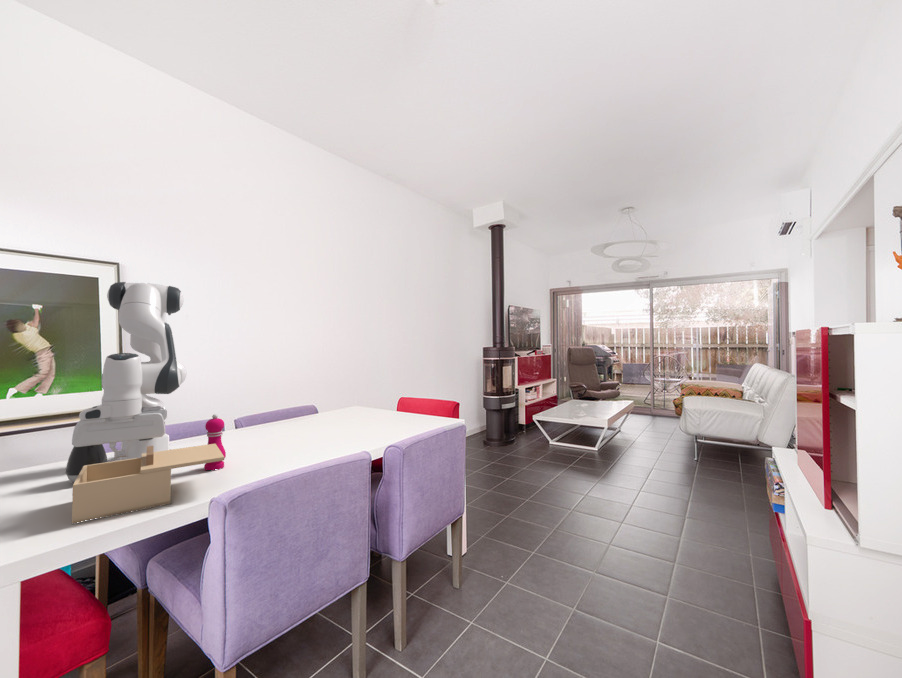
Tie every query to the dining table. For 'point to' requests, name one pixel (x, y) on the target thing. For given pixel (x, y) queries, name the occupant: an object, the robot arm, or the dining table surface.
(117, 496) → the box
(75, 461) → the black egg shape
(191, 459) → the lid
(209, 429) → the pepper mill
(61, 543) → the dining table surface
